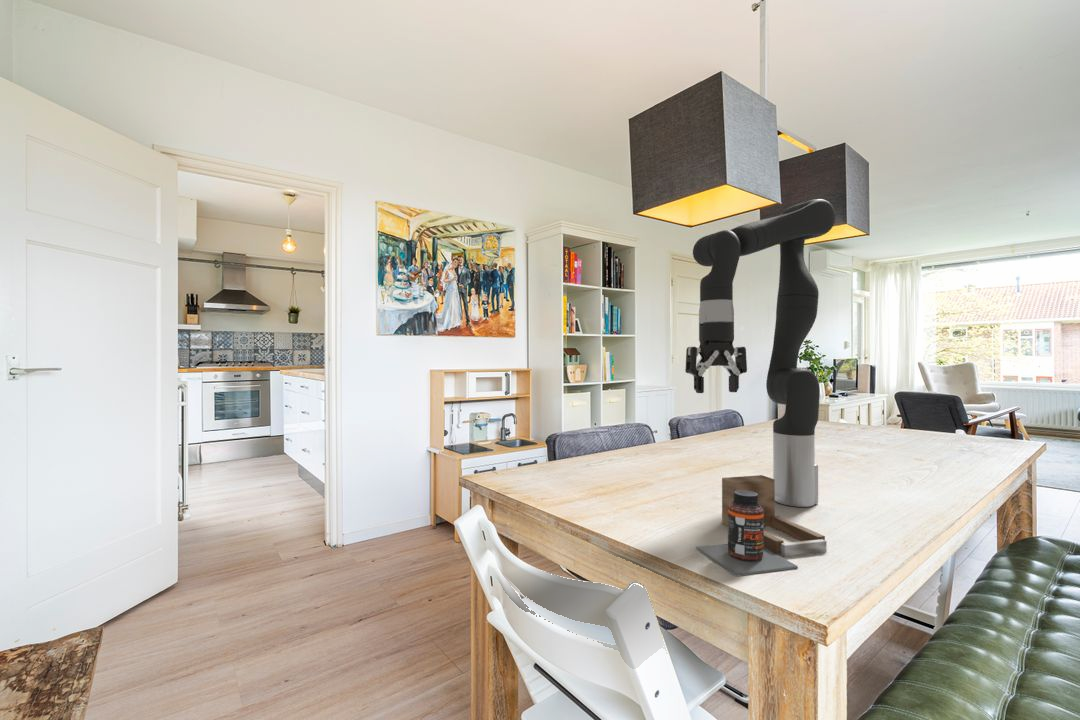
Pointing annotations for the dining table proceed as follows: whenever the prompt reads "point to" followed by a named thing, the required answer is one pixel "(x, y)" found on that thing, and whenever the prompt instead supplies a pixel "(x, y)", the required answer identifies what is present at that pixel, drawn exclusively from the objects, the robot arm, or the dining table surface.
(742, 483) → the dispenser
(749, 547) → the supplement bottle
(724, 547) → the plate
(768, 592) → the dining table surface
